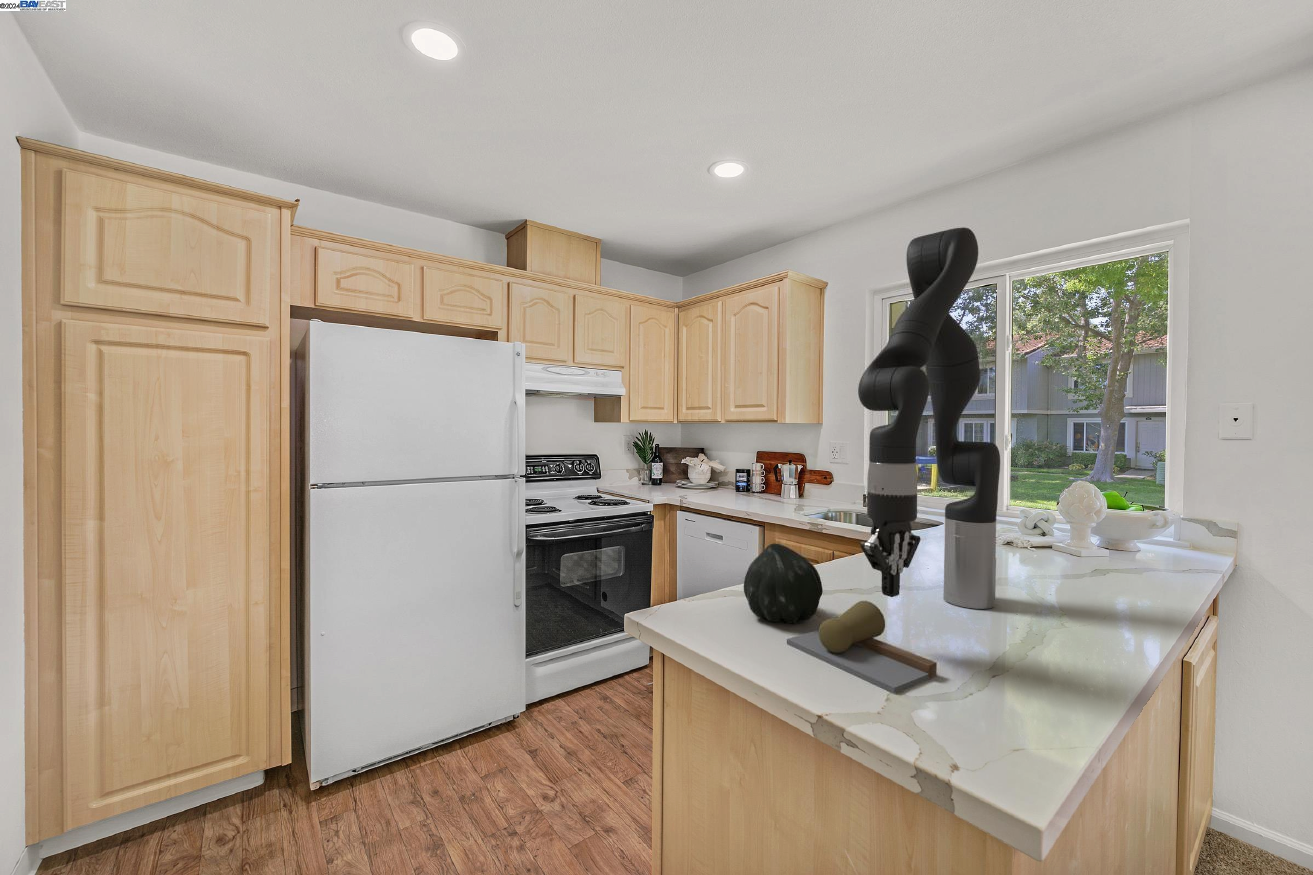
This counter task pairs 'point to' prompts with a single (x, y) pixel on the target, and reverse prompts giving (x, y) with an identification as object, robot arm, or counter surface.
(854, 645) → the slate mat
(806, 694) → the counter surface
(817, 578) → the squash
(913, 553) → the robot arm
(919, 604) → the counter surface
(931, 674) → the walnut rail
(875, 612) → the olive pawn-shaped piece
